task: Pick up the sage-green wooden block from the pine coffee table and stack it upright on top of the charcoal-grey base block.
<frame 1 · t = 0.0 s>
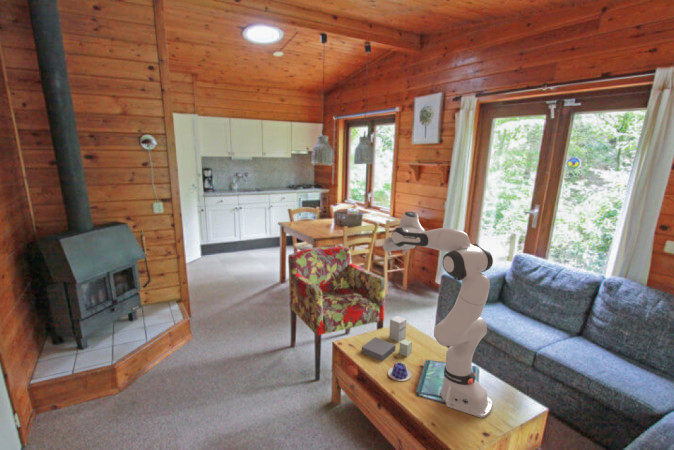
hand: (396, 253, 202), 54 cm above the table, tool tilted 30°, fingers open, 8 cm apart
supplement box: (397, 338, 214), on the table
base block: (378, 352, 199), on the table
sage block: (405, 353, 197), on the table
pudding: (399, 375, 178), on the table
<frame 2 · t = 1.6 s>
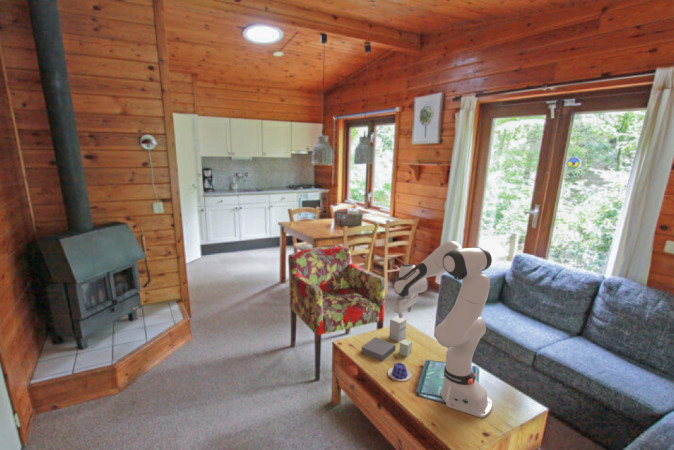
hand: (405, 314, 194), 23 cm above the table, tool pointing down, fingers open, 8 cm apart
nothing on the table moved.
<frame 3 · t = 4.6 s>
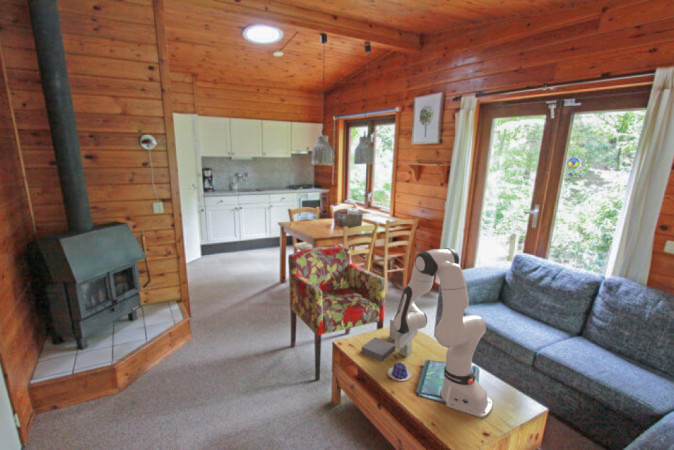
hand: (405, 349, 197), 3 cm above the table, tool pointing down, fingers closed on sage block, 5 cm apart
sage block: (405, 353, 197), on the table, touching gripper
everything else where it was.
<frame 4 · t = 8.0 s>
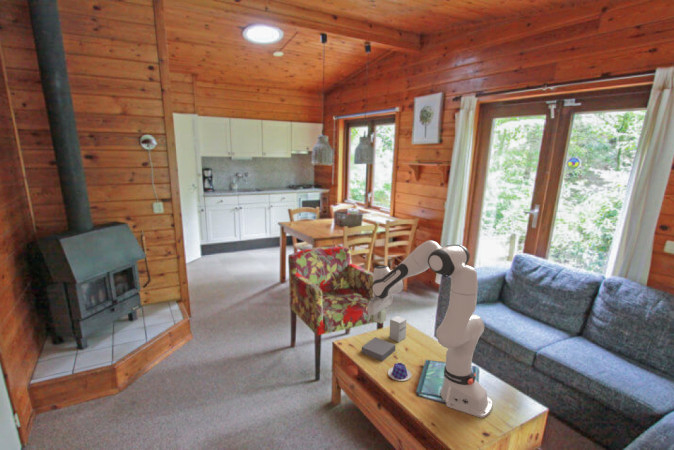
hand: (380, 316, 195), 22 cm above the table, tool pointing down, fingers closed on sage block, 5 cm apart
sage block: (379, 320, 196), point 19 cm above the table, touching gripper
everything else where it was.
when the fingers open (8 cm above the table, at t = 11.4 s): sage block drops 2 cm, resting on base block.
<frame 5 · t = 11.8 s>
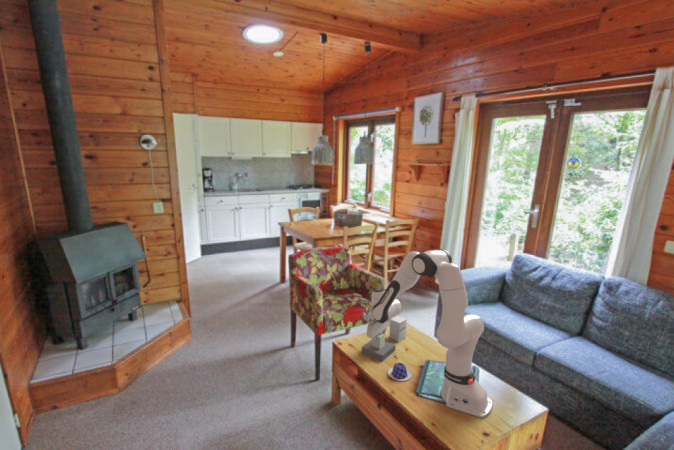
hand: (378, 338, 198), 8 cm above the table, tool pointing down, fingers open, 8 cm apart
base block: (378, 352, 199), on the table, touching sage block
sage block: (378, 345, 198), point 3 cm above the table, touching base block
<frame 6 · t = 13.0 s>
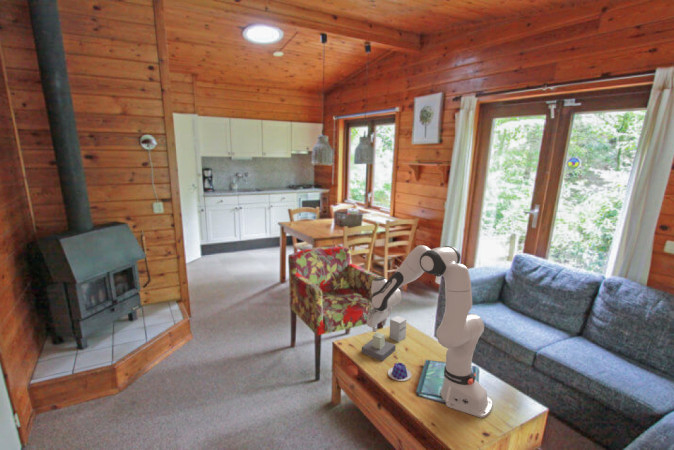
hand: (379, 328, 196), 15 cm above the table, tool pointing down, fingers open, 8 cm apart
base block: (378, 352, 199), on the table
sage block: (378, 346, 198), point 3 cm above the table
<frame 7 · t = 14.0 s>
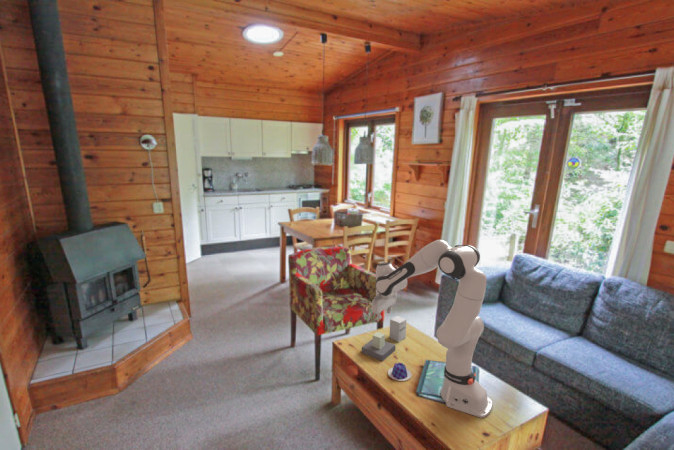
hand: (384, 315, 189), 25 cm above the table, tool pointing down, fingers open, 8 cm apart
base block: (378, 352, 199), on the table, touching sage block
sage block: (378, 345, 198), point 3 cm above the table, touching base block
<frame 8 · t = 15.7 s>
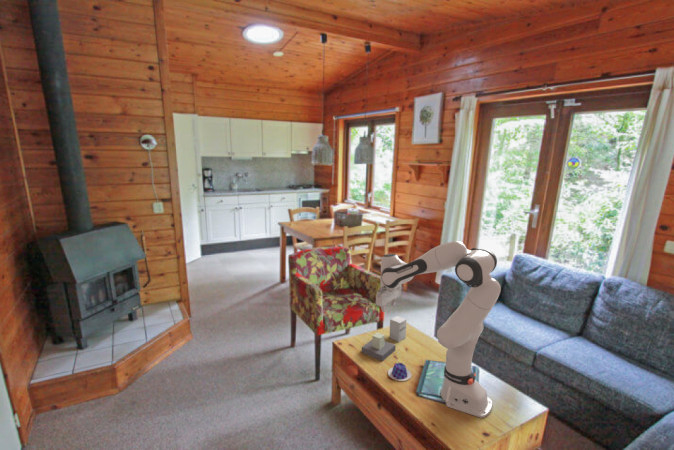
hand: (388, 308, 184), 31 cm above the table, tool pointing down, fingers open, 8 cm apart
at the end: sage block inside the target area on the base block (0.5 cm from its centre), point 4.0 cm above the base block's base; sage block tilted 0°; the gripper is holding nothing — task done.
